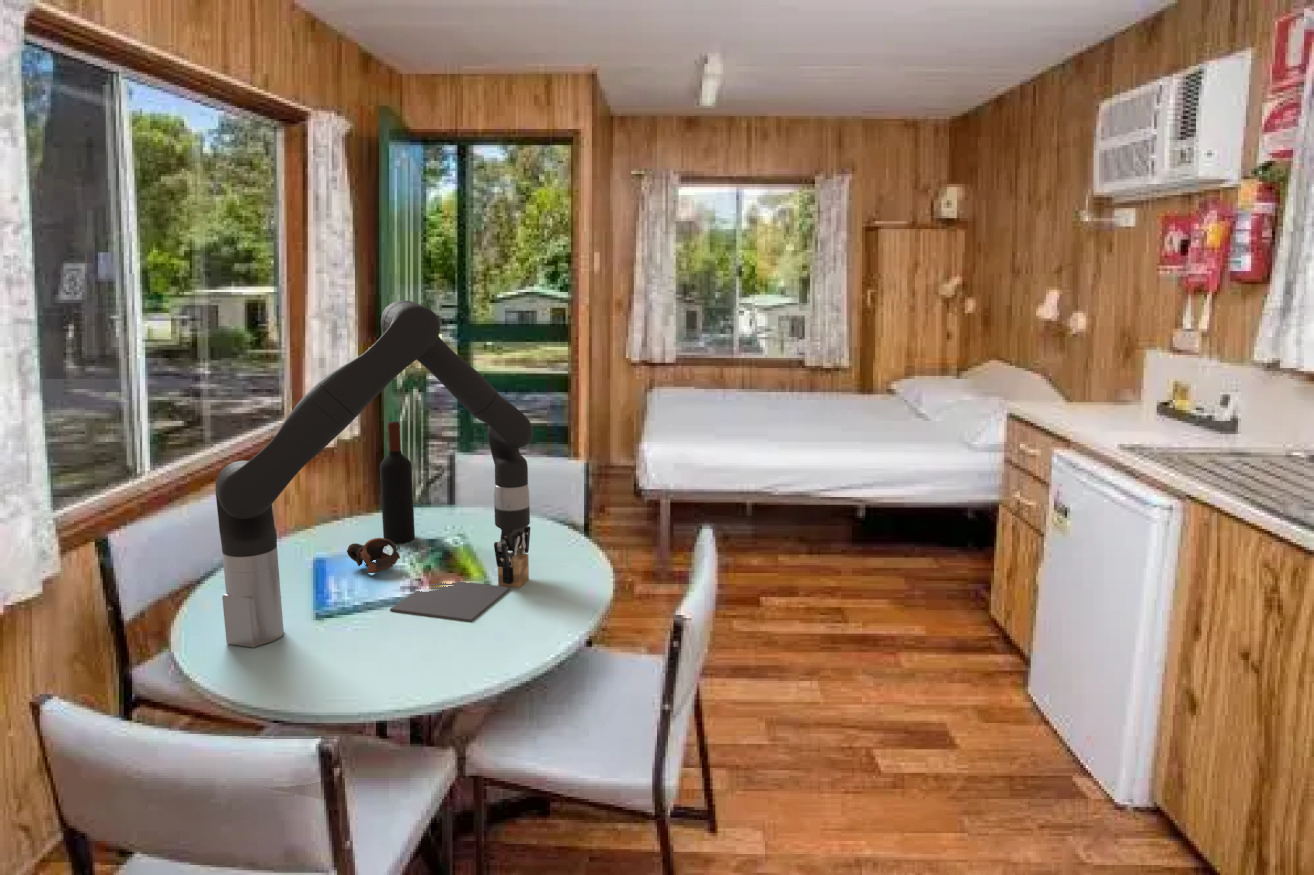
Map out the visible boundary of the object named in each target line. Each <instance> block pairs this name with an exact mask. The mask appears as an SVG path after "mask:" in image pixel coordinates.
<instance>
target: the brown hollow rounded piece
mask: <svg viewBox="0 0 1314 875" xmlns="http://www.w3.org/2000/svg"><path fill="white" fill-rule="evenodd" d="M388 546H390V547H391V548H392V551H393V552H392V553H391V554H389V553H386V552H385V551H384V549H385V548H386V547H388ZM346 553H347V555H348V557H349V558H350V559H351V560H352V561H354V562H356V564H357V566H358V567H360V565H362V564H363V563H364V562H365V563H366V564H367V565H366V566H368V567H367V570H366V574H367V573H375V574H376V573H380V572H384V571H386V570H388V569H390V568H392V567H394V565H396V563H397V561H398V560H399V559H401V556H400V553H399V552H398V548H397V544H395V543H394V542H392V541H391V540H389V539H385V538H384V537H383V538H382V537H376V538H371V539H369V540H368V541H366V543H365V544H360V543H355V542H354V543H351V544H350V545H349V544H348V546H347V549H346ZM373 560H376V561H375V562H372V561H373ZM365 563H364V564H365Z"/></svg>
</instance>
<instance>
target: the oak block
mask: <svg viewBox="0 0 1314 875" xmlns="http://www.w3.org/2000/svg"><path fill="white" fill-rule="evenodd" d="M508 553H512V551H508ZM509 561H510V557H509ZM529 569H530V567H529V553H525V554H521V553H517V555H516V557H514V561H513V583H512V584H506V583H503V568H502V567H497V578H498V579H497V582H498V583H497V584H498V585H497V586H504V587H510V588H517V589H520V588H522V586H523V585H525V584H526V583H527V582H528V581H530V578H529V577H530V575H529V574H530V572H529V571H530V570H529Z"/></svg>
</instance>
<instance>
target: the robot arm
mask: <svg viewBox="0 0 1314 875" xmlns="http://www.w3.org/2000/svg"><path fill="white" fill-rule="evenodd" d="M380 328H381V331H382V335H381V336H380V337H379V338H378V339H377V340H376V341H375V343H373V344H372V345H371V347H369V348H368V349H367V350H365V352H364V353H362V354H360V355H359V356H357V357H355V358H354V359H352V360H350V361H349V362H346V363H345V364H343V365H340V367H338V368H336V369H334V370H333V371H331V372H330V373H328V374H327V375H326V376H324V377H323V378H322V379H320V380H319V381H318V383H316V384H315V385H314V386H313V387H312V388H311V389H310V390H309V391H308V392H307V393H305V395H304V396H303V397H302V398H301V399H300V400H299V401H298V403H297V404H295V406H294V408H293V409H292V411H291V412H290V413H289V415H288V416H287V418H286V419H285V420H284V422H283V424H282V425H281V427H280V428H279V429H278V431H277V432H276V434H275V435H274V437H273V438H272V439H271V440H270V442H268V444H266V446H264V448H262V449H261V450H260V451H259V452H258V453H257V454H256V455H255V456H253V457H252V458H251V459H250V460H238V461H233V462H231V463H229V464H227V465H226V466H225V467H223V468H222V469H221V470H220V471H219V474H218V475H217V478H216V480H215V497H216V498H215V499H216V509H217V517H218V518H217V520H218V529H219V536H220V544H221V552H222V562H223V563H222V564H223V574H224V583H225V584H224V585H225V593H224V594H223V595H222V596H221V600H222V608H223V618H224V621H223V622H224V629H225V631H224V632H225V641H226V644H227V645H234V646H241V647H246V648H254V649H255V648H257V647H258V646H262V645H266V644H269V643H272V642H274V641H276V640H278V639H279V638H281V637H282V636H283V635H284V633H285V629H284V616H283V606H282V605H283V604H282V592H281V581H280V580H281V578H280V568H279V566H280V565H279V555H278V554H279V552H278V542H277V540H278V538H277V531H276V525H275V520H274V514H273V512H274V511H273V503H274V502H275V501H276V500H277V498H278V497H279V496H280V495H281V493H282V492H283V491H284V490H285V489H286V487H287V486H288V485H289V484H290V483H291V481H292V480H293V479H294V478H295V476H297V474H298V473H299V472H300V471H301V470H302V469H303V468H304V467H305V466H306V465H307V464H308V463H309V462H311V460H313V459H314V458H315V457H316V456H317V455H318V454H320V453H321V452H322V451H323V450H324V449H325V448H326V447H327V446H329V444H331V442H333V441H334V439H336V437H338V436H339V435H340V434H341V433H342V432H343V431H344V430H345V429H346V428H347V427H348V426H349V425H350V424H352V422H353V421H355V419H356V418H357V417H358V416H359V415H360V414H361V413H362V412H363V411H364V410H365V408H367V406H369V404H370V403H371V402H372V401H374V399H376V398H377V397H378V396H379V395H380V393H381V392H382V391H383V390H385V388H386V387H388V385H389V384H390V383H391V382H392V381H393V380H394V379H395V378H396V377H397V376H399V375H400V374H401V373H402V372H403V371H404V370H406V369H407V368H408V367H409V366H410V365H412V364H413V363H414V362H416V361H418V363H420V364H421V365H422V366H423V367H425V369H427V371H429V373H431V374H432V375H433V376H434V377H435V378H436V379H437V381H439V382H440V383H441V384H442V385H443V386H444V388H445V389H447V391H448V392H449V393H451V395H452V396H453V397H454V398H455V399H456V400H457V401H458V402H459V403H460V404H461V406H462V407H464V408H465V409H466V410H467V411H468V412H469V413H470V414H471V415H472V416H473V417H474V418H475V419H477V420H479V421H481V422H483V423H484V424H486V425H488V427H487V439H488V444H489V448H490V452H491V457H492V459H493V463H494V493H493V499H494V501H493V502H494V505H493V506H494V525H495V526H496V527H497V528H499V529H500V532H501V533H500V540H499V541H494V544H493V548H494V549H493V550H494V554H495V555H494V556H495V561H496V562H495V563H496V567H497V568H498V567H502V568H503V583H506V584H512V583H513V561H514V557H516V555H517V553H521V554H529V550H530V540H531V539H530V538H531V526H530V523H531V516H530V515H531V514H530V513H531V511H530V510H531V508H530V506H531V505H530V489H529V473H528V472H529V471H528V470H529V468H528V466H529V465H528V462H527V460H526V458H525V457H524V456H523V455H522V454H521V452H520V448H524V447H526V446H527V445H528V444H529V443H530V442H531V441H532V439H533V436H534V430H533V429H534V428H533V425H532V423H531V421H530V419H529V418H528V417H527V416H526V415H525V414H524V413H523V412H522V411H521V410H519V409H518V408H517V407H516V406H515V405H513V404H512V403H511V402H510V401H508V400H506V399H505V398H504V397H503V396H502V395H500V393H499V392H498V391H497V390H496V389H495V388H494V386H492V384H490V382H488V380H487V379H485V377H484V376H482V374H481V373H480V372H478V371H477V370H476V369H475V368H474V367H473V366H471V365H470V364H469V363H468V362H467V361H466V360H464V359H463V358H462V357H460V356H459V355H458V354H457V353H456V352H455V351H454V350H452V349H451V348H450V346H448V345H447V344H446V342H445V341H444V340H443V339H442V338H441V337H440V336H439V335H440V330H441V324H440V319H439V317H438V315H437V314H436V313H435V312H434V311H433V310H432V309H430V308H429V307H426V306H425V305H422V304H419V303H418V302H416V301H415V302H414V301H411V300H397V301H393V302H392V303H390V304H389V305H387V306H386V307H385V308H384V310H383V311H382V314H381V318H380ZM508 552H512V553H508ZM509 557H510V561H509Z"/></svg>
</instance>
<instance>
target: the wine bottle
mask: <svg viewBox="0 0 1314 875" xmlns="http://www.w3.org/2000/svg"><path fill="white" fill-rule="evenodd" d="M400 429H401V424H400V421H399V420H398V421H397V420H393V421H387V431H388V435H387V436H388V455H387V456H386V457H384V458H383V459H382V461H380V464H379V473H380V475H379V479H380V496H381V515H382V518H381V519H382V532H383V533H382V534H383V536H382V537H383V538H385V539H389V540H391V541H392V542H394V543H395V545H400V544H402V545H403V544H407V543H406V542H408V543H410V542H413V541H414V540H415V537H416V536H415V535H416V534H415V531H416V530H415V514H414V512H415V509H414V491H413V490H414V489H413V488H414V486H413V470H412V469H413V467H412V462H411V461H410V460H409V458H408V457H407V456H405V455H404V454H403V453H402V448H401V447H402V446H401V430H400Z"/></svg>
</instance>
